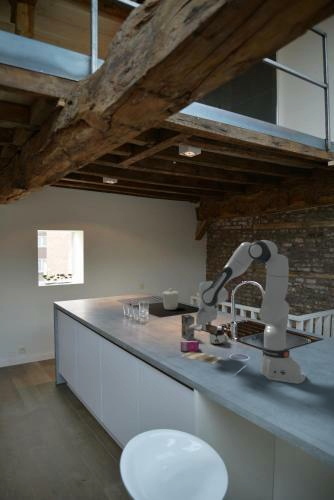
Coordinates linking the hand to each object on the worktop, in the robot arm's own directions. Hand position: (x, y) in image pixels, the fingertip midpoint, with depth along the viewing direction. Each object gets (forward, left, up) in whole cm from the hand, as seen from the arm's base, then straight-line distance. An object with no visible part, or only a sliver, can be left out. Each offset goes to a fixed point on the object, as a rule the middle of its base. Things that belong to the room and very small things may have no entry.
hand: (206, 329), depth 209 cm
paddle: (+3, 0, -1) cm, 3 cm away
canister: (+96, -103, -17) cm, 142 cm away
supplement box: (+9, -5, -13) cm, 17 cm away
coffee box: (+29, -26, -17) cm, 42 cm away
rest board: (+1, +5, -16) cm, 17 cm away
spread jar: (+5, -28, -17) cm, 33 cm away
